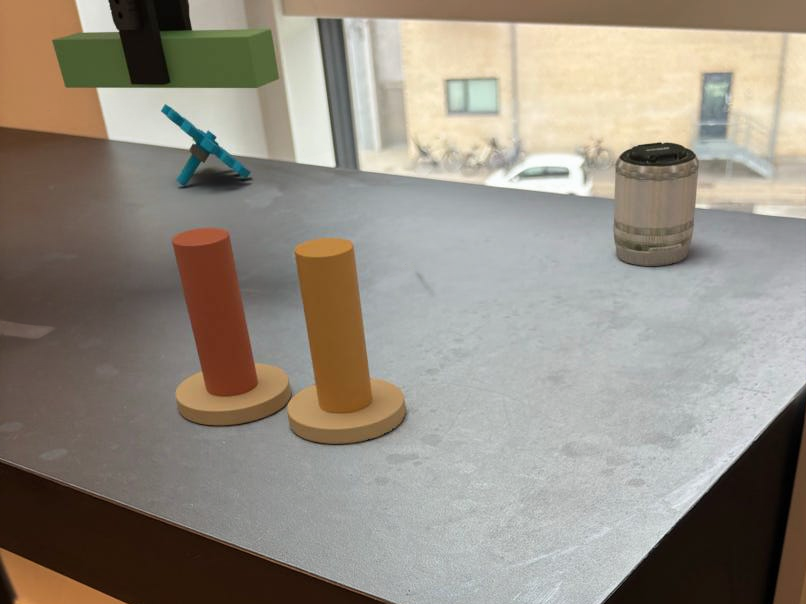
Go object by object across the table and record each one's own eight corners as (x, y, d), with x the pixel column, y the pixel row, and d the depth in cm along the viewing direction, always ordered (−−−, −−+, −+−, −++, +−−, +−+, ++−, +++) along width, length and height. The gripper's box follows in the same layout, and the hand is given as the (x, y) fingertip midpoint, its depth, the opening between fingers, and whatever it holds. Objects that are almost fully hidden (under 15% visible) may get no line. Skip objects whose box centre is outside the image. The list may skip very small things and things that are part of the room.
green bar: (65, 87, 72) (51, 39, 71) (91, 79, 75) (79, 32, 73) (257, 88, 67) (247, 36, 65) (279, 79, 69) (271, 28, 68)
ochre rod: (267, 435, 60) (233, 262, 53) (325, 386, 65) (300, 223, 58) (373, 451, 57) (350, 273, 51) (424, 399, 62) (410, 231, 56)
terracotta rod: (155, 417, 62) (111, 251, 56) (219, 371, 67) (185, 214, 61) (252, 432, 60) (217, 261, 54) (311, 384, 65) (285, 222, 59)
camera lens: (600, 248, 83) (603, 144, 78) (671, 238, 84) (678, 134, 79) (630, 272, 78) (635, 163, 73) (705, 261, 79) (714, 152, 74)
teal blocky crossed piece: (257, 171, 101) (168, 99, 96) (224, 221, 103) (134, 153, 98) (250, 162, 110) (168, 96, 106) (220, 208, 112) (138, 145, 107)
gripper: (15, -433, 49) (142, 103, 64) (200, -388, 61) (271, 57, 75) (-100, -411, 52) (47, 101, 66) (98, -372, 63) (186, 57, 78)
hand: (166, 77), depth 71 cm, fingers closed on green bar, 3 cm apart
